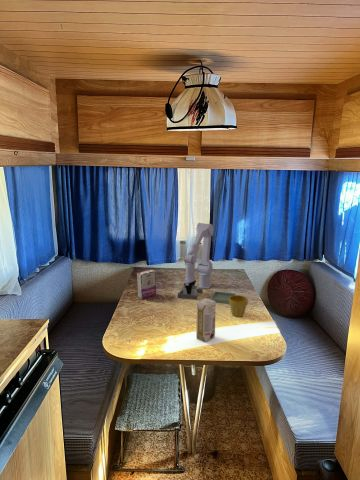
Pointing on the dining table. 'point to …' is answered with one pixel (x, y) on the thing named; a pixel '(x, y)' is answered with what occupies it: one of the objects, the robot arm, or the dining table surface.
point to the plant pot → (238, 305)
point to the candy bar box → (146, 284)
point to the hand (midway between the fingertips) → (190, 292)
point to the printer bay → (181, 295)
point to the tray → (221, 297)
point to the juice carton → (205, 320)
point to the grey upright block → (193, 290)
